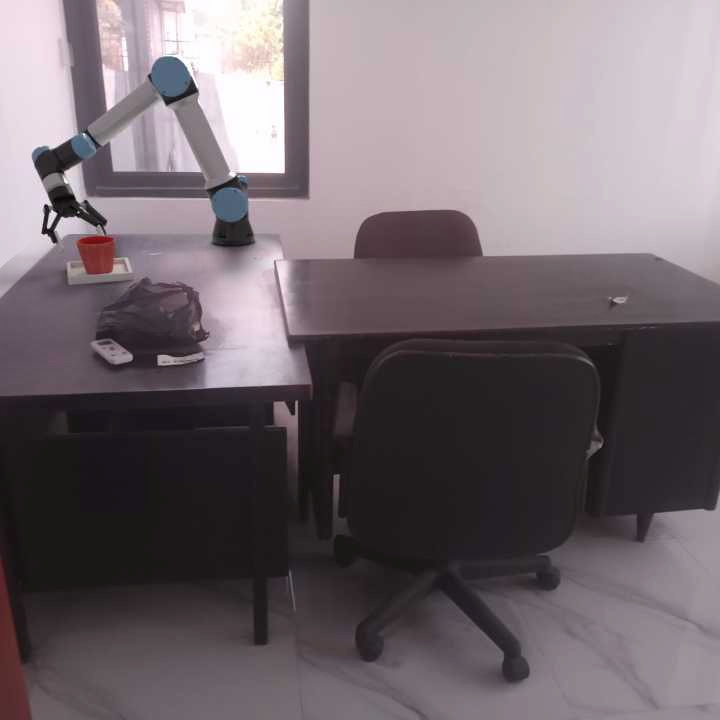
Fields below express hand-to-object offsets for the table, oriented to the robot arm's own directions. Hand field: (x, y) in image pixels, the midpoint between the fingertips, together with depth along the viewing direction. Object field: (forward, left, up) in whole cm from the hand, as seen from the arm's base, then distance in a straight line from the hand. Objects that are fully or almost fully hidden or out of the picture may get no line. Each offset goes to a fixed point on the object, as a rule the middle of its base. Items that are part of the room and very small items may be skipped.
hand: (84, 247), depth 230 cm
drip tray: (-3, +9, -6) cm, 11 cm away
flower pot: (-3, +9, -6) cm, 11 cm away
